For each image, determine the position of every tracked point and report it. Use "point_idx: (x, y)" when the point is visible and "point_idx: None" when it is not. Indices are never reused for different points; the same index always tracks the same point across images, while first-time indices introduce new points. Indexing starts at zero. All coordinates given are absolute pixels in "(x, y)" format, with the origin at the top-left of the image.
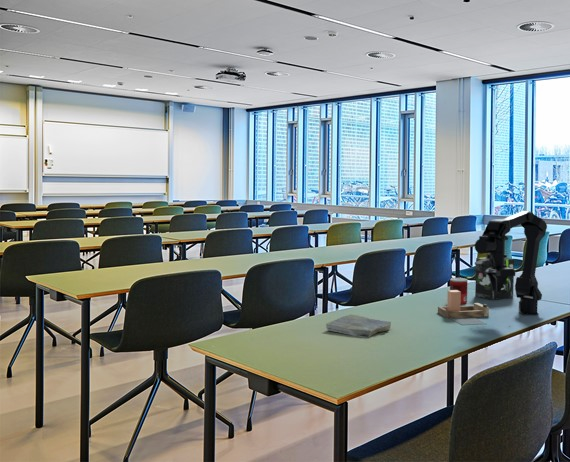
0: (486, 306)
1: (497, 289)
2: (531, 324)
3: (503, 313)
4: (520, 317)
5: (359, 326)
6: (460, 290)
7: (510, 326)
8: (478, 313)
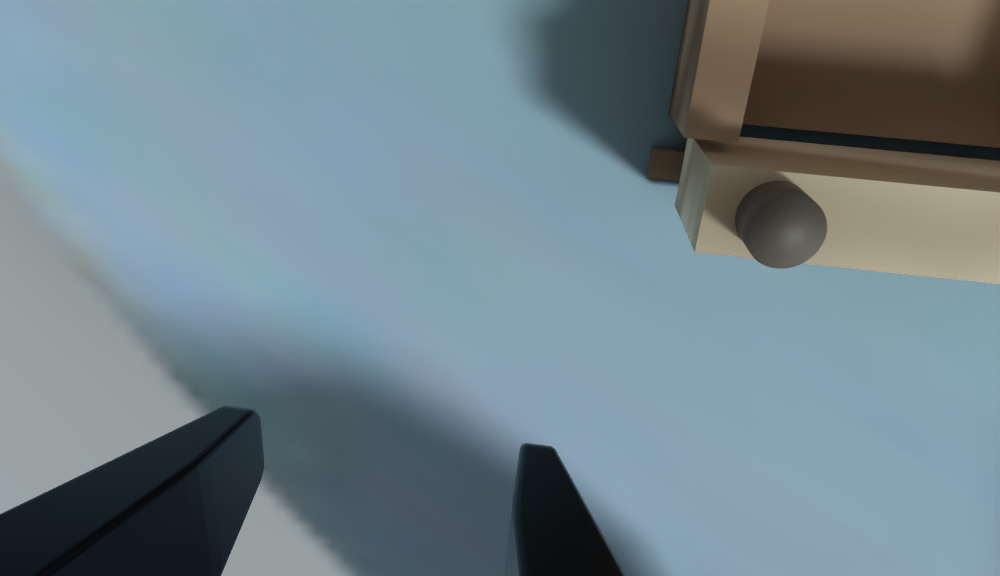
0: (739, 230)
1: (168, 437)
2: None
3: (803, 495)
4: None
5: None
6: None
7: (165, 187)
8: (698, 19)
